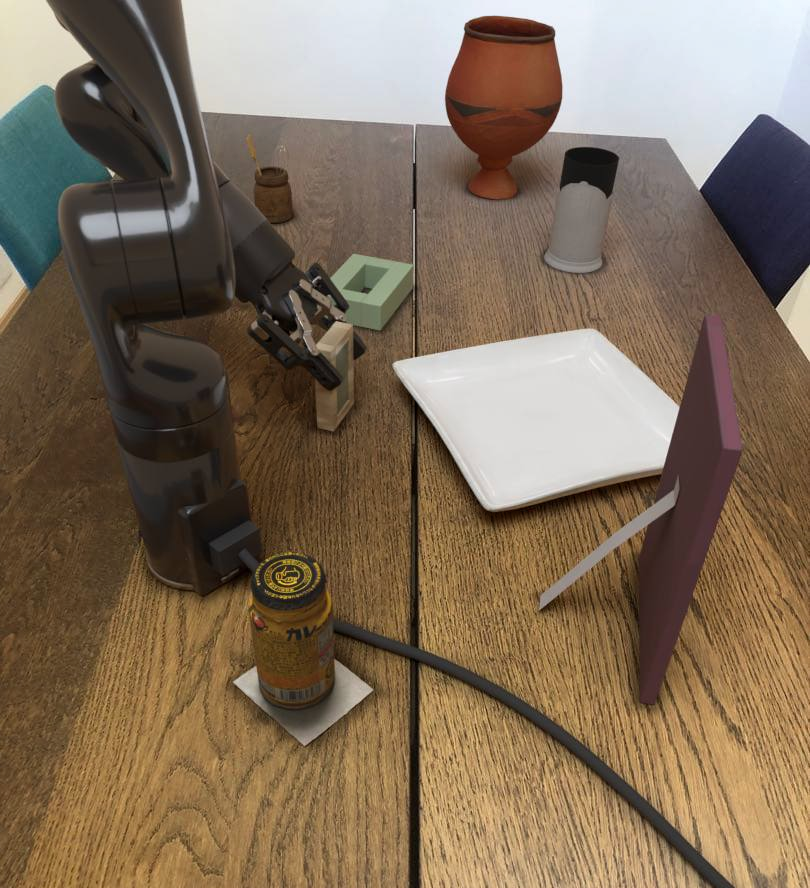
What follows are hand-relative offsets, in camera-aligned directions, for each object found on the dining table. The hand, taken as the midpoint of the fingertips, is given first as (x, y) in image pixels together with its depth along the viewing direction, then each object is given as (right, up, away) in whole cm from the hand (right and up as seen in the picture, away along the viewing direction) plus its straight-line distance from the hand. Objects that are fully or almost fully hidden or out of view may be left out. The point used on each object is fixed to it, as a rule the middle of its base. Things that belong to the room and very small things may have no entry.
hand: (349, 369), depth 87 cm
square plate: (+22, -6, +4) cm, 23 cm away
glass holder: (+32, +26, +38) cm, 56 cm away
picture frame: (+23, -25, -16) cm, 37 cm away
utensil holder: (-15, +34, +45) cm, 58 cm away
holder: (+1, +14, +24) cm, 28 cm away
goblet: (+21, +43, +56) cm, 74 cm away
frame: (-2, -4, +5) cm, 7 cm away
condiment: (-2, -30, -22) cm, 38 cm away
